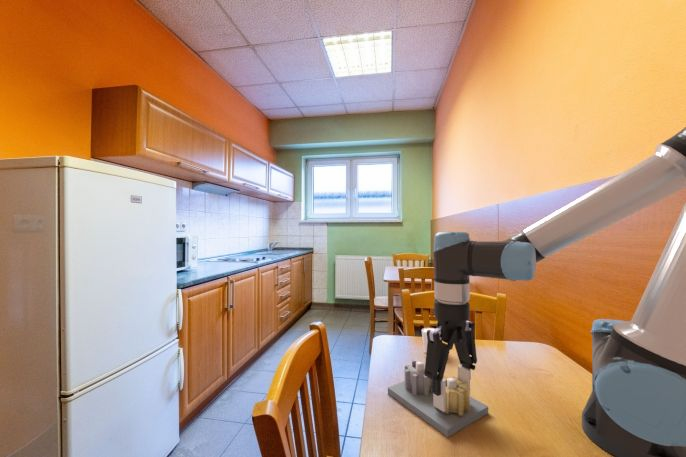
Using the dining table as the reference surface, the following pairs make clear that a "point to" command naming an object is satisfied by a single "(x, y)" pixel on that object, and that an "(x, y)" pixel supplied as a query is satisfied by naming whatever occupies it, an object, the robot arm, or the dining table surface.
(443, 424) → the gear board
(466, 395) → the brass gear
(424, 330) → the beige cup
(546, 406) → the dining table surface
